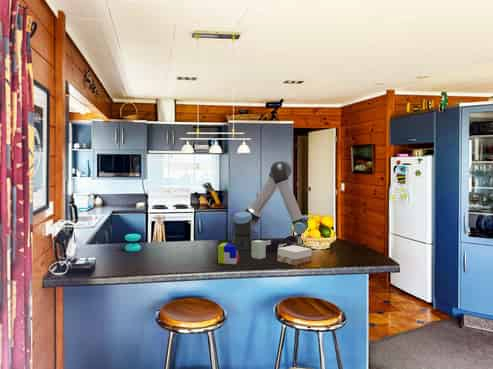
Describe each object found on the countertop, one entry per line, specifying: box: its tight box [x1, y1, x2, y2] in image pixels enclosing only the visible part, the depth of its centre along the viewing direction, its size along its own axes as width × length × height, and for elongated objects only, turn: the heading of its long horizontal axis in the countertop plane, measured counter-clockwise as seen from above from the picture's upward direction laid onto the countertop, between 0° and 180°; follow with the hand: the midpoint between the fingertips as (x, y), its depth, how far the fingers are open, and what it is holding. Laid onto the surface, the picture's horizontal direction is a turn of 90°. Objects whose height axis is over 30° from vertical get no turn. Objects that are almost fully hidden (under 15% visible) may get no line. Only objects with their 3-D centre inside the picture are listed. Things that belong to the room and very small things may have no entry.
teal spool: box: [124, 233, 142, 252], centre depth 266 cm, size 10×10×10 cm
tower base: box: [276, 254, 312, 266], centre depth 242 cm, size 14×14×4 cm
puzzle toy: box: [217, 242, 240, 265], centre depth 239 cm, size 10×10×10 cm
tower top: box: [277, 245, 313, 259], centre depth 241 cm, size 14×14×4 cm
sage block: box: [250, 239, 267, 260], centre depth 249 cm, size 6×6×10 cm
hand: (270, 245), depth 256 cm, fingers open, 13 cm apart
